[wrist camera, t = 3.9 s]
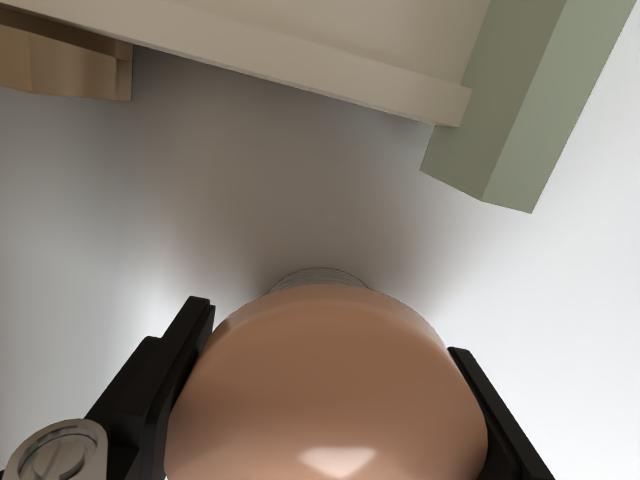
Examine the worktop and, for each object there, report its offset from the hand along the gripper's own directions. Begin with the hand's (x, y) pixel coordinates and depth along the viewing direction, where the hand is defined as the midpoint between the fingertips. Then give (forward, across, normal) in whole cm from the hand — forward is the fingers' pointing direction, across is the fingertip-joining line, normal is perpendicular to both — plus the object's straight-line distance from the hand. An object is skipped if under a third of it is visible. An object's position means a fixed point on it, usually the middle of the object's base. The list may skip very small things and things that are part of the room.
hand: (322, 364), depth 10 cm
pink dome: (-1, 0, 0) cm, 1 cm away
